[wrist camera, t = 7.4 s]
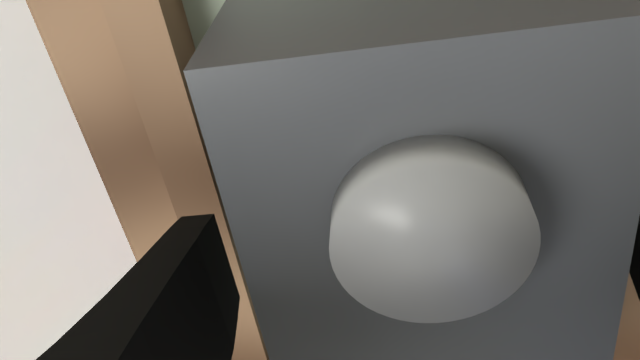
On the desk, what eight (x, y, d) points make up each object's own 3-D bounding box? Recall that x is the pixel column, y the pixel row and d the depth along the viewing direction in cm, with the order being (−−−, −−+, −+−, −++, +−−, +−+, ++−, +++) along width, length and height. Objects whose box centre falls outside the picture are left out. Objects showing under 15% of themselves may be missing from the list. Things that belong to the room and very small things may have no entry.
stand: (665, 298, 17) (719, 392, 15) (201, 326, 19) (176, 415, 16) (811, -321, 10) (982, -358, 7) (14, -174, 11) (-90, -159, 9)
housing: (524, 298, 15) (598, 535, 10) (326, 311, 16) (311, 539, 11) (545, -88, 10) (706, 32, 5) (252, -46, 11) (168, 94, 6)
